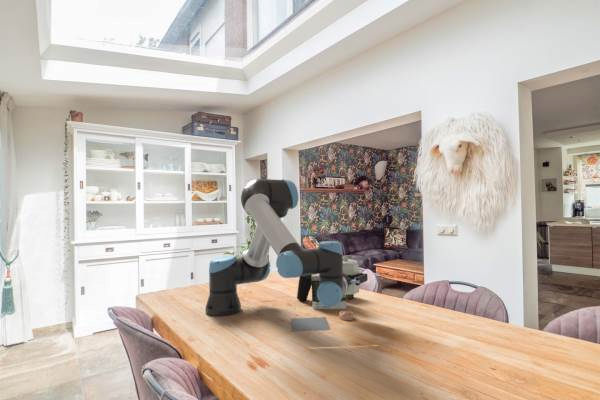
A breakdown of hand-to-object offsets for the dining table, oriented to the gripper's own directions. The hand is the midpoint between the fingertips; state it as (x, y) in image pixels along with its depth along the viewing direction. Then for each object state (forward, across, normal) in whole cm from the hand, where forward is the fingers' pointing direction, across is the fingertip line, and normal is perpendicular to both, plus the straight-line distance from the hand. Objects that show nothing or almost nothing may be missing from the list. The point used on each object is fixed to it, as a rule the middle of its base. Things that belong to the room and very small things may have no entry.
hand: (347, 272), depth 135 cm
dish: (-4, 0, -17) cm, 18 cm away
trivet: (-14, -12, -17) cm, 26 cm away
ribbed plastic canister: (-4, 0, -7) cm, 8 cm away
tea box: (+11, -10, -18) cm, 23 cm away
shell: (+26, -6, -18) cm, 32 cm away
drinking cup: (+19, -25, -17) cm, 36 cm away
